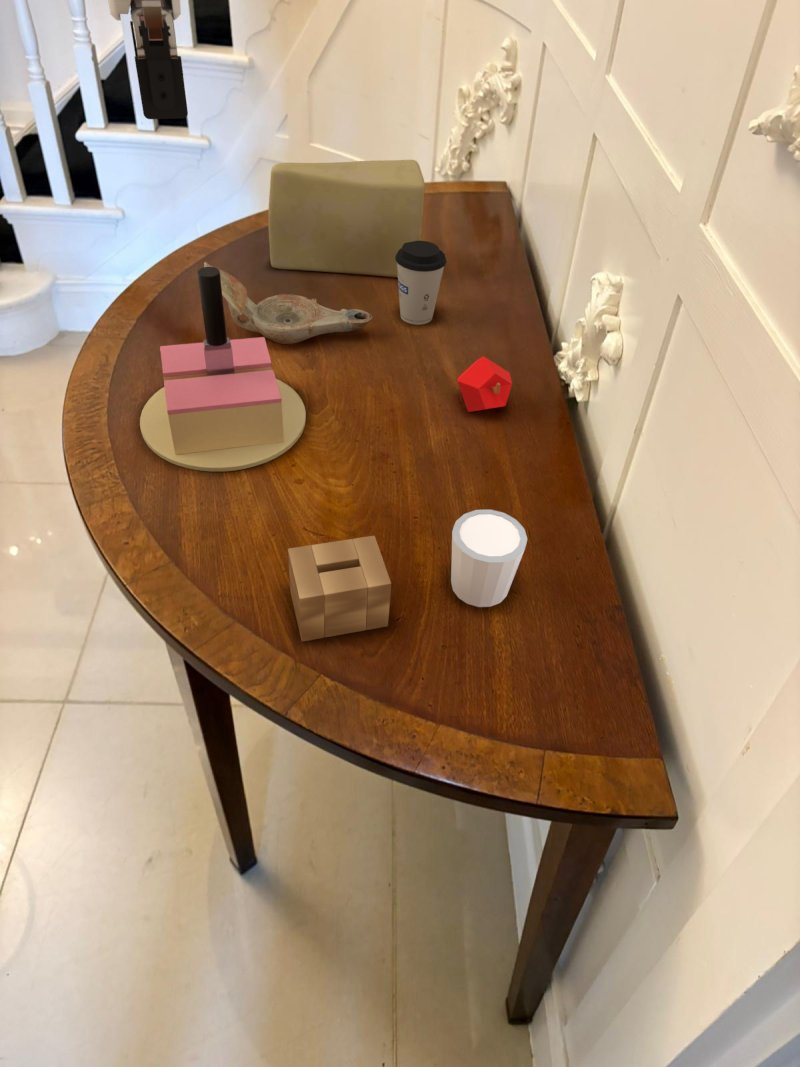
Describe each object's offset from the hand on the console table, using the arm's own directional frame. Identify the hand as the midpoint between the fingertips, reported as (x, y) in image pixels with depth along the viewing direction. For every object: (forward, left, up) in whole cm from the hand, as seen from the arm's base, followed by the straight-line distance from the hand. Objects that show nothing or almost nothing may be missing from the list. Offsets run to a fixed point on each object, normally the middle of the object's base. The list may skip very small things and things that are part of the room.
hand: (162, 96), depth 62 cm
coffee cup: (+31, +25, -36) cm, 54 cm away
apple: (+33, +3, -36) cm, 49 cm away
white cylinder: (+23, -25, -36) cm, 50 cm away
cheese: (+24, +41, -36) cm, 60 cm away
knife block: (+9, -25, -36) cm, 45 cm away
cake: (+2, +6, -36) cm, 37 cm away
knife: (+2, +6, -36) cm, 36 cm away
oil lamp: (+13, +23, -36) cm, 45 cm away
